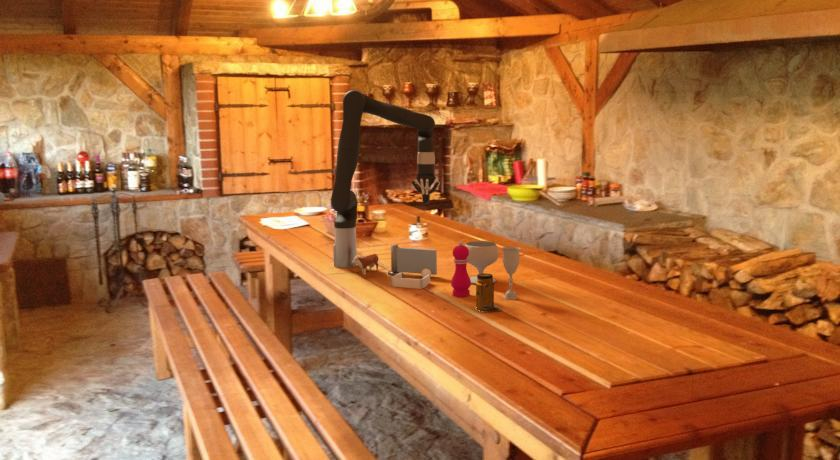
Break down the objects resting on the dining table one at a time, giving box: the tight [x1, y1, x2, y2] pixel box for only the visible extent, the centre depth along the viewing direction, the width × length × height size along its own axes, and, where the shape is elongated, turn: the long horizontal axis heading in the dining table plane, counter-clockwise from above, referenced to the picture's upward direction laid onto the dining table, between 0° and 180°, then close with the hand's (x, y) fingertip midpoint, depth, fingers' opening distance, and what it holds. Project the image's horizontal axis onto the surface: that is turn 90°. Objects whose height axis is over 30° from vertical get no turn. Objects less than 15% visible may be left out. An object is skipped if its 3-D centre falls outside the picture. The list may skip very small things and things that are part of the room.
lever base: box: [387, 270, 400, 277], centre depth 294 cm, size 6×6×1 cm
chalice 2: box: [501, 246, 521, 301], centre depth 254 cm, size 7×7×18 cm
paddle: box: [390, 243, 438, 276], centre depth 290 cm, size 20×3×11 cm, turn 69°
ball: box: [420, 268, 432, 278], centre depth 285 cm, size 4×4×4 cm
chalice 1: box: [464, 240, 500, 285], centre depth 278 cm, size 14×14×15 cm
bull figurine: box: [352, 253, 379, 276], centre depth 296 cm, size 4×13×8 cm, turn 137°
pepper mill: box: [450, 240, 472, 298], centre depth 258 cm, size 7×7×20 cm
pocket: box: [390, 272, 431, 290], centre depth 275 cm, size 13×9×4 cm
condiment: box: [475, 272, 503, 313], centre depth 241 cm, size 7×8×12 cm
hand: (426, 203), depth 306 cm, fingers closed
